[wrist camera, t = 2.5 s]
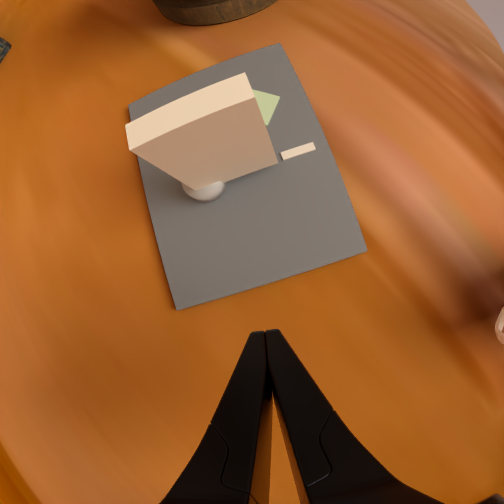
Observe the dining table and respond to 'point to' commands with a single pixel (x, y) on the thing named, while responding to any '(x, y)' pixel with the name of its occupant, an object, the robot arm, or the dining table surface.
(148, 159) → the beige rectangular block
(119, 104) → the dining table surface
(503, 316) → the cup
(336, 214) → the board
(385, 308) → the dining table surface
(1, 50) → the metal box
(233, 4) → the wooden container
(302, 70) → the dining table surface
